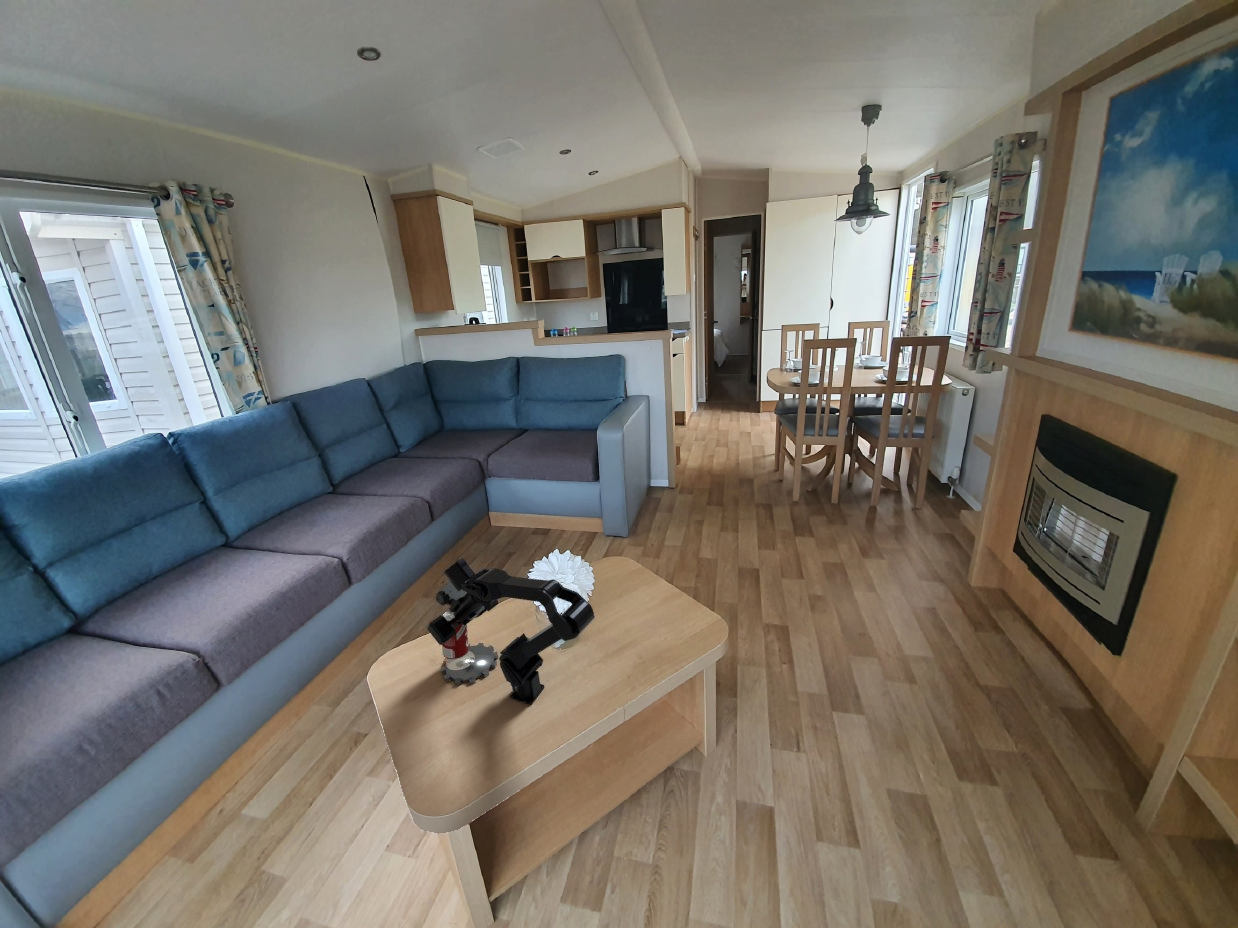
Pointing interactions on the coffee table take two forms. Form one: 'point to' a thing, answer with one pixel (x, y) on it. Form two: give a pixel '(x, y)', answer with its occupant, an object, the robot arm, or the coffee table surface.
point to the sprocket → (470, 664)
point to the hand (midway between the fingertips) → (451, 627)
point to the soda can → (456, 640)
